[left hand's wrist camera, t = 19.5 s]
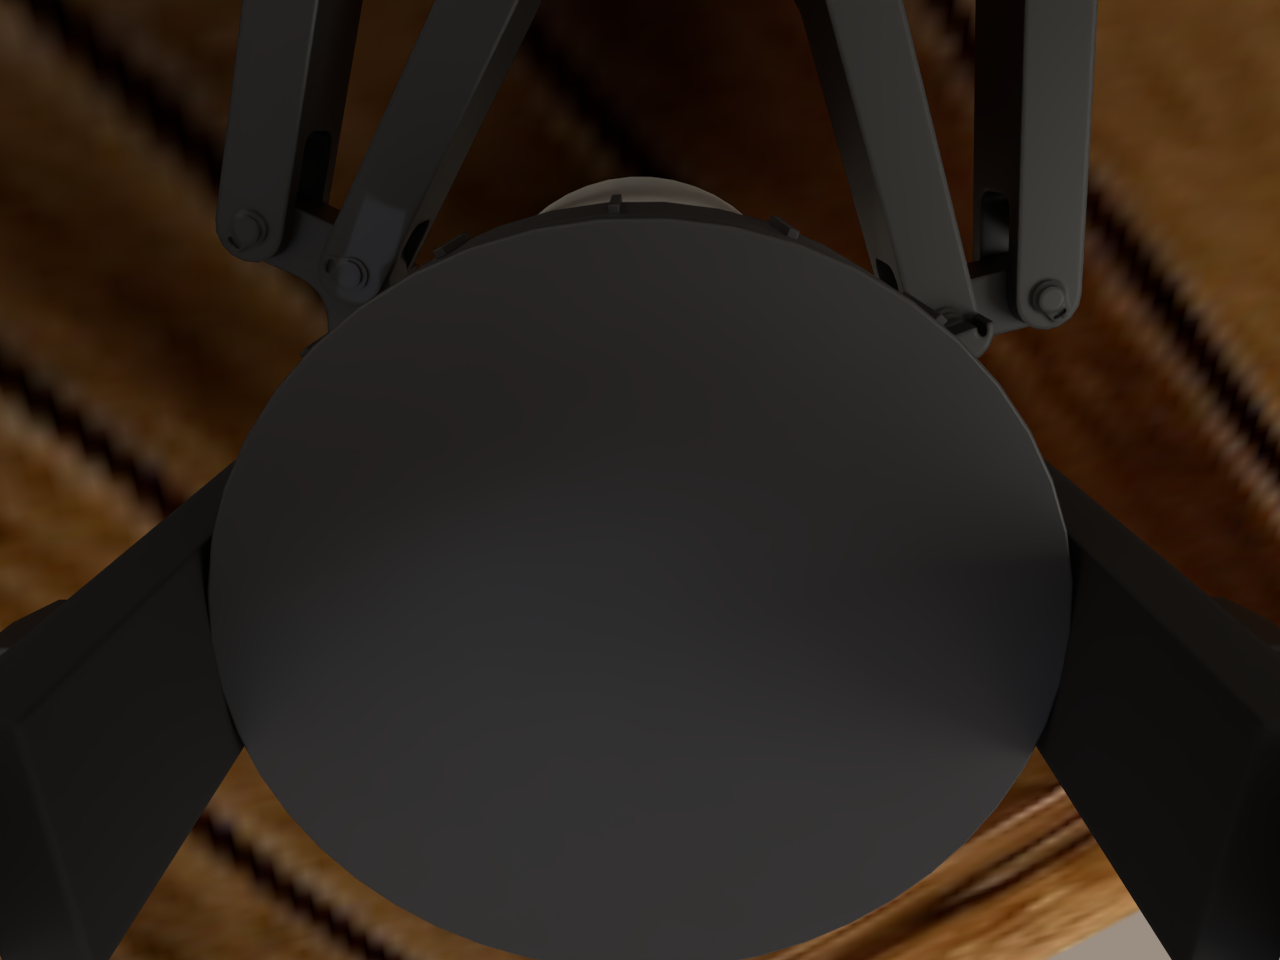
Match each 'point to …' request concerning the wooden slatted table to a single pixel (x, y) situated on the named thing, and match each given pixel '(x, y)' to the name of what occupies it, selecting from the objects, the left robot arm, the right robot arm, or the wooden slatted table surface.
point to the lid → (640, 588)
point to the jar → (640, 194)
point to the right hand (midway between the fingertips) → (623, 602)
